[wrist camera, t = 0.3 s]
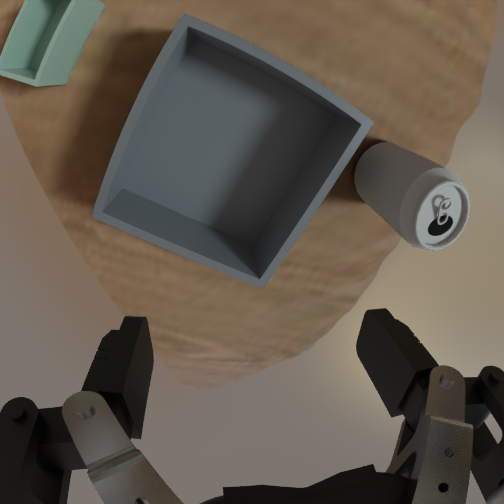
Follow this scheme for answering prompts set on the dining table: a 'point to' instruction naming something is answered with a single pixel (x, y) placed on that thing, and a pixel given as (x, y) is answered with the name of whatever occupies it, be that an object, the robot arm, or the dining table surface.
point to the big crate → (226, 153)
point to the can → (413, 195)
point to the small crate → (48, 40)
